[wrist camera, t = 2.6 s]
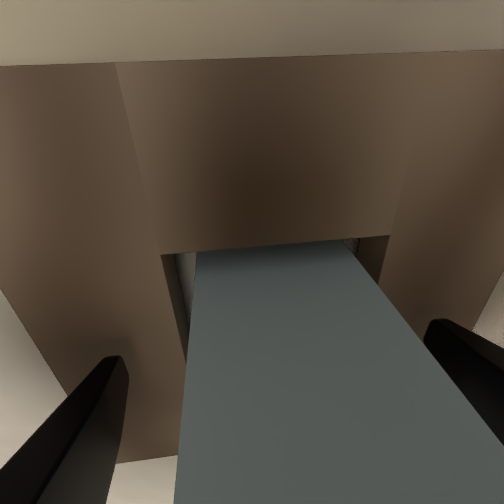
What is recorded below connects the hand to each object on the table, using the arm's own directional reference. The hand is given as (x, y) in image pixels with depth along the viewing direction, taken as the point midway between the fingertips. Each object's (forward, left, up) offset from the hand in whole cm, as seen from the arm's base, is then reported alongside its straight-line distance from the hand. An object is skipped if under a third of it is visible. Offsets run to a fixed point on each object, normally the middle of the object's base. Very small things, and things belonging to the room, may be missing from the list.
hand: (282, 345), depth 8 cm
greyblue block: (0, 0, -2) cm, 2 cm away
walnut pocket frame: (0, 0, -2) cm, 2 cm away
